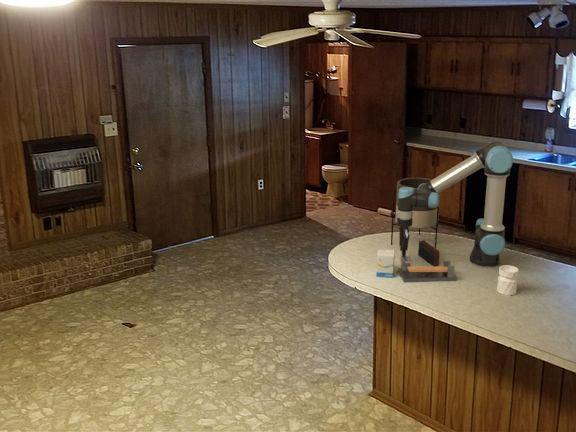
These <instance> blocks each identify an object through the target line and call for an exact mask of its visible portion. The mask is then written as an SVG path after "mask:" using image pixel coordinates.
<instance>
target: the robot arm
mask: <svg viewBox="0 0 576 432" xmlns="http://www.w3.org/2000/svg"><path fill="white" fill-rule="evenodd" d="M513 163H514V157H513V154H512V152H511V150H510V149H509V148H508V147H507V146H506V145H505V144H504V143H503V142H501V141H491V142H489V143H486V144H485V145H483V146H481V147H480V148H478V149H477V150H475V151H474V153H473V155H471V156H469V157H467V158H466V159H464V160H462V161H461V162H459V163H458V164H455V166H453V167H451V168H450V169H448V170H446V171H444V172H443V173H442V174H440V175H438V176H436V177H435V178H433V179H432V180H431V181H429V182H428V183H423V184H421V185H419V187H418V189H417V192H414V189H413V188H412V187H402V188H400V189H399V195H398V212H397V213H398V218H397V222H396V224H397V225H396V226H398V230H399V235H398V237H399V243H398V245H399V252H400V254H399V262H400V263H401V256H407V251H408V249H409V248H408V247H409V241H410V240H409V239H410V234H409V233H410V228H408V227H410V226H412V220H413V219H412V217H413V207H426V208H436V207H437V206H438V193H440V194H441V192H443V191H445V190H447V189H448V188H450V187H451V186H454V185H455V184H456V183H458V182H461V180H463V179H465V178H467V177H468V176H471V175H473V174H474V173H475V172H477V171H479V170H480V169H484V175H486V176H487V178H486V191H485V204H484V215H483V217H484V218H478V219H477V220H476V221H475V222H476V223H475V233H474V245H473V248H472V249H471V250H472V251H471V252H470V254H469V262H470V263H472V264H473V263H474V264H473V265H475V264H476V265H475V266H479V267H485V266H490V267H491V266H492V267H496V266H499V264H500V263H501V258H500V254H501V253H503V251H505V250H504V249H505V248H506V240H505V231H506V230H505V228H506V227H505V226H504V225H503V216H504V215H503V214H504V206H505V205H504V204H505V193H506V184H507V177H509V176H510V174H511V168H512V166H513ZM490 267H489V268H490Z"/></svg>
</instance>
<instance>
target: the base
mask: <svg viewBox="0 0 576 432" xmlns="http://www.w3.org/2000/svg"><path fill="white" fill-rule="evenodd" d="M451 263H452V262H451V260H447V259H446V260H443V263H442V264H443V265H442V267H446V266H447V272H409V271H402V270H401V267H398V269H397V273H398V275H399V276H400V278H401V280H402V282H403V283H429V282H431V283H432V282H456V281H457V278H458V277H457V275H456V273H455V267H456V266H455V265H451Z"/></svg>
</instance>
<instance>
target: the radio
mask: <svg viewBox="0 0 576 432" xmlns="http://www.w3.org/2000/svg"><path fill="white" fill-rule="evenodd" d="M428 242H432V240H430V239H429V240H426V239H425V240H418V251H417V252H418V254H417V255H418V257H419V258H420V259H422V260H424V261H425V262H426V263H428V264H429V265H430V266H431V267H440V265H439V264H440V253H441V251H440V250H439V249H438V248H437V247H436V248H435V246H433V245H431V244H430V243H428Z"/></svg>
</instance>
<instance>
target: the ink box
mask: <svg viewBox="0 0 576 432" xmlns="http://www.w3.org/2000/svg"><path fill="white" fill-rule="evenodd" d="M395 252H396V251H395V250H393V249H380V248H379V249H378V250H377V254H376V256H377V257H376V275H375V276H376V277H378V278H391V279H393V278H394V271H395V269H394V268H395V258H396V257H395V254H396V253H395Z"/></svg>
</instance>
